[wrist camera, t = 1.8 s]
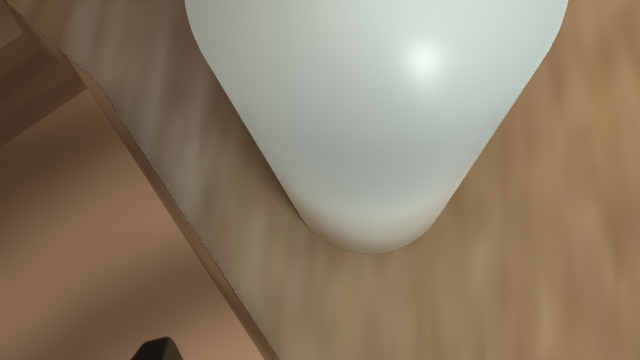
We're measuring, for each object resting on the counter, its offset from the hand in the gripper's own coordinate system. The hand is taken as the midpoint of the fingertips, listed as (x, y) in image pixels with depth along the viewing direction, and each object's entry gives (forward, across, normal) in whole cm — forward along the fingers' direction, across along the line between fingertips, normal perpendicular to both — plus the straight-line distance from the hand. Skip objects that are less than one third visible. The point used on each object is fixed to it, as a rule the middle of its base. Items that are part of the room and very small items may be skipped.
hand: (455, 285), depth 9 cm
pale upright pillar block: (+12, 0, +5) cm, 13 cm away
